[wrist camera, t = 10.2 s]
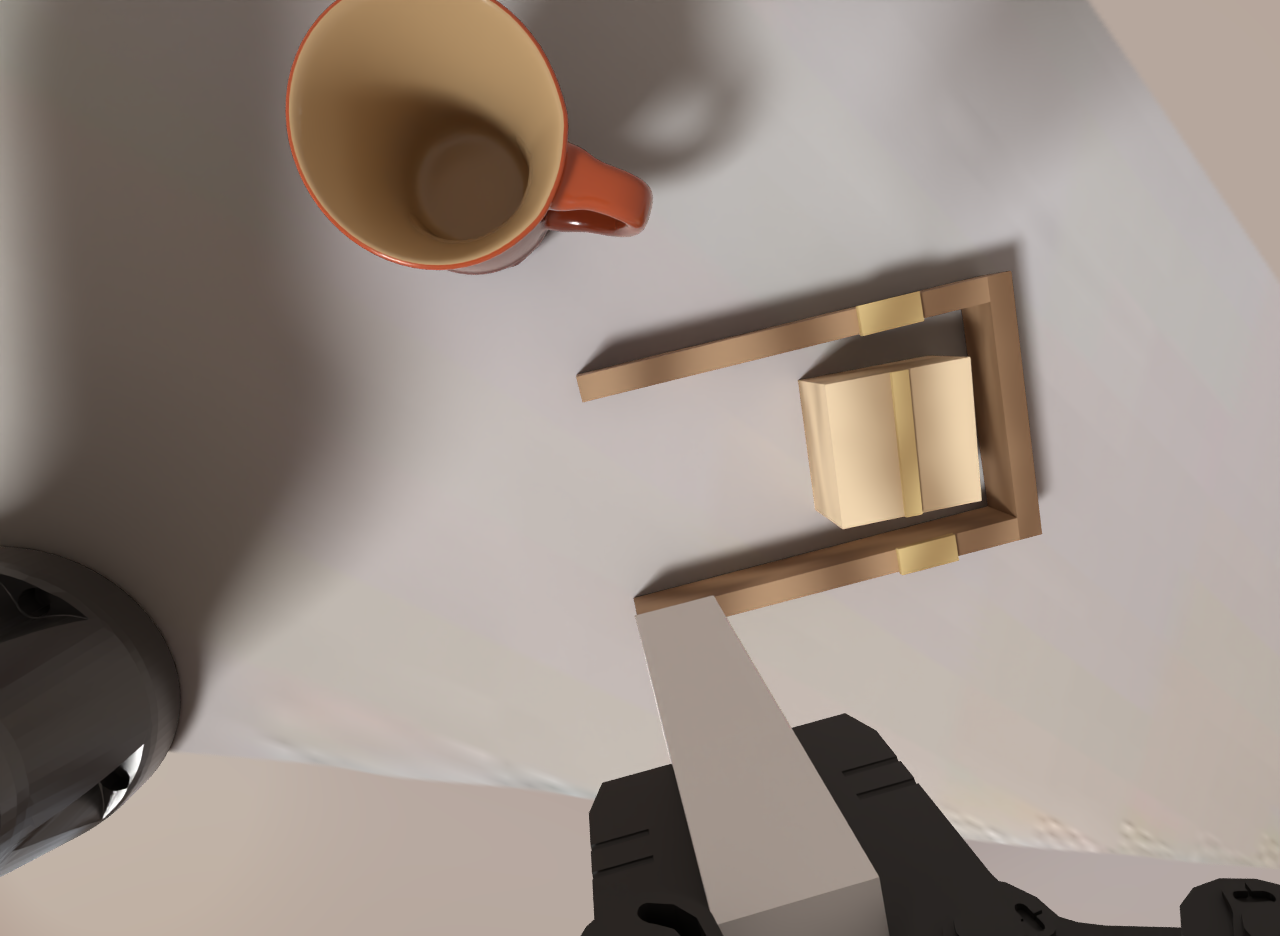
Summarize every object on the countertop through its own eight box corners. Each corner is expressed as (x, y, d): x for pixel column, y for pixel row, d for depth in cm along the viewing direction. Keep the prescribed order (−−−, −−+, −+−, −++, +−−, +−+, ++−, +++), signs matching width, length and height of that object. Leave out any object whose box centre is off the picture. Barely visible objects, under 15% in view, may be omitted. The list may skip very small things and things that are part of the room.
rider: (813, 508, 36) (844, 530, 31) (796, 380, 34) (826, 385, 30) (937, 483, 36) (983, 501, 32) (926, 355, 34) (972, 357, 30)
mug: (364, 263, 31) (260, 224, 21) (404, 69, 30) (313, -72, 20) (610, 333, 33) (623, 328, 23) (658, 152, 31) (694, 61, 21)
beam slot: (639, 620, 36) (644, 643, 33) (576, 372, 33) (575, 375, 30) (1011, 522, 36) (1046, 537, 34) (979, 273, 34) (1015, 267, 31)
